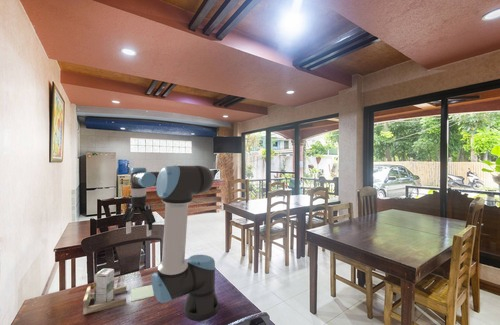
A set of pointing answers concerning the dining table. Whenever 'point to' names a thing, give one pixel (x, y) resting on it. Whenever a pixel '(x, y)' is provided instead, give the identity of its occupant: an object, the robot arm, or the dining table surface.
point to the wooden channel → (104, 305)
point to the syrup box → (104, 286)
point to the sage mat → (142, 293)
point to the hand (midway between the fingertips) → (138, 234)
